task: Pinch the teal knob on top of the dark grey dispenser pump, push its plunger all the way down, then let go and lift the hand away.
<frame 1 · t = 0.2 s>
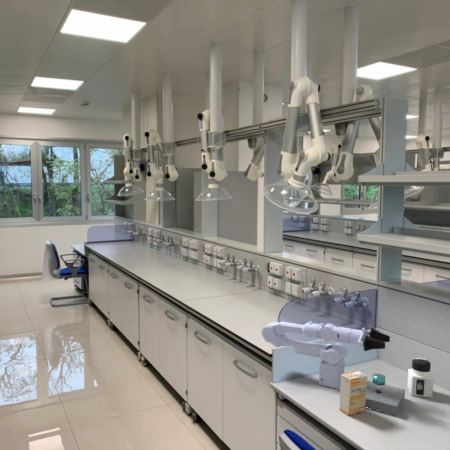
hand: (387, 342, 166), 21 cm above the worktop, tool horizontal, fingers open, 7 cm apart
supplement box: (352, 411, 156), on the worktop
container: (419, 393, 172), on the worktop
plunger: (378, 384, 163), point 6 cm above the worktop, slide at 0.0 cm
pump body: (377, 401, 164), on the worktop
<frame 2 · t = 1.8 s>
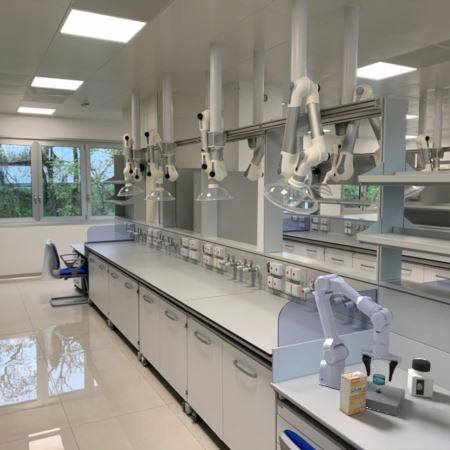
hand: (379, 378, 163), 9 cm above the worktop, tool pointing down, fingers open, 7 cm apart
nothing on the worktop moved.
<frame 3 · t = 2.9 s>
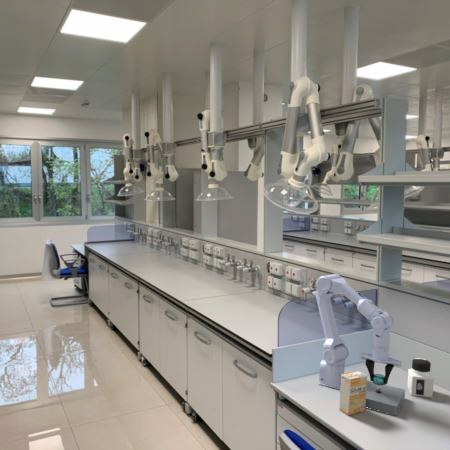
hand: (378, 381, 163), 7 cm above the worktop, tool pointing down, fingers closed on plunger, 4 cm apart
plunger: (378, 384, 163), point 6 cm above the worktop, slide at 0.0 cm, touching gripper
everything else where it was.
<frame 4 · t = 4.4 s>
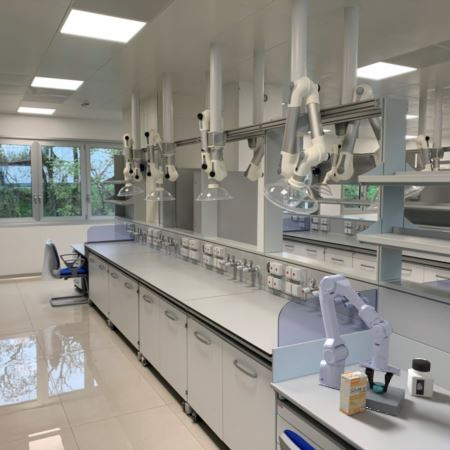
hand: (378, 390, 163), 4 cm above the worktop, tool pointing down, fingers closed on plunger, 4 cm apart
plunger: (378, 392, 163), point 3 cm above the worktop, slide at 3.1 cm, touching gripper
everything else where it was.
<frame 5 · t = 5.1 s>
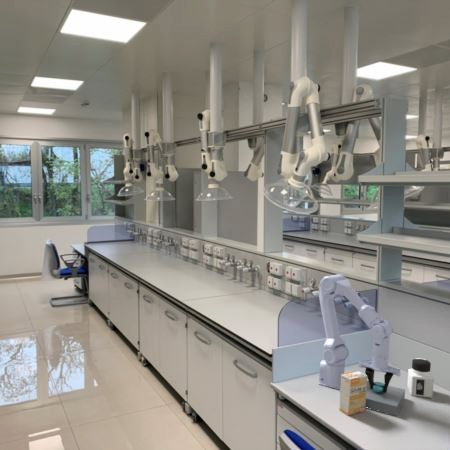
hand: (378, 390, 163), 4 cm above the worktop, tool pointing down, fingers closed on plunger, 4 cm apart
plunger: (378, 392, 163), point 3 cm above the worktop, slide at 3.1 cm, touching gripper
everything else where it was.
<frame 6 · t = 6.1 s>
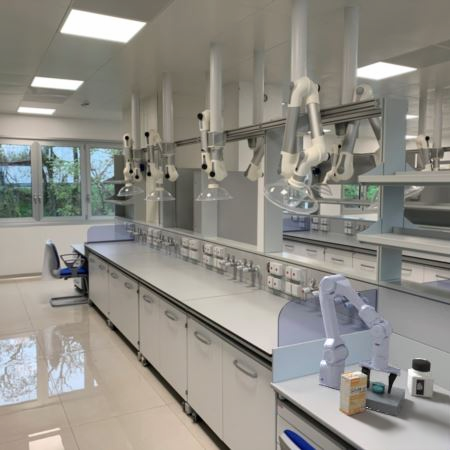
hand: (378, 390, 163), 4 cm above the worktop, tool pointing down, fingers open, 7 cm apart
plunger: (378, 392, 163), point 3 cm above the worktop, slide at 3.1 cm
everything else where it was.
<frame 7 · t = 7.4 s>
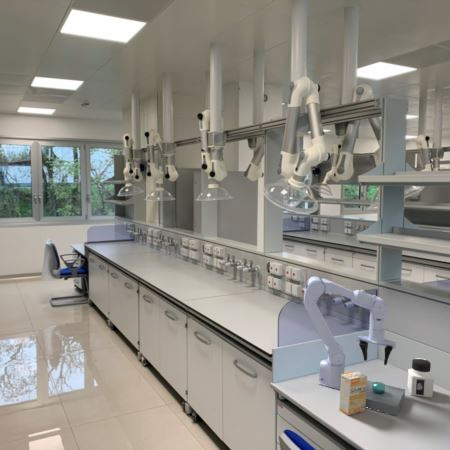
hand: (375, 362, 174), 10 cm above the worktop, tool pointing down, fingers open, 7 cm apart
nothing on the worktop moved.
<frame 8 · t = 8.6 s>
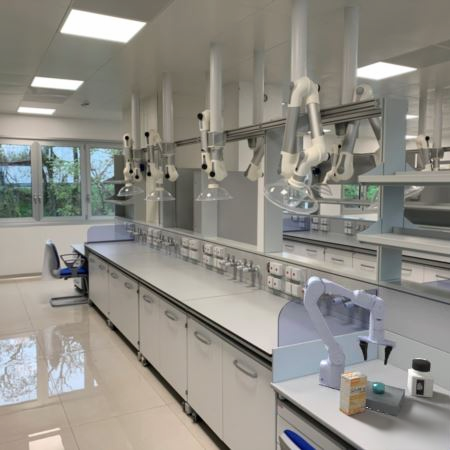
hand: (375, 362, 174), 10 cm above the worktop, tool pointing down, fingers open, 7 cm apart
nothing on the worktop moved.
at the end: plunger slide at 3.1 cm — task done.
